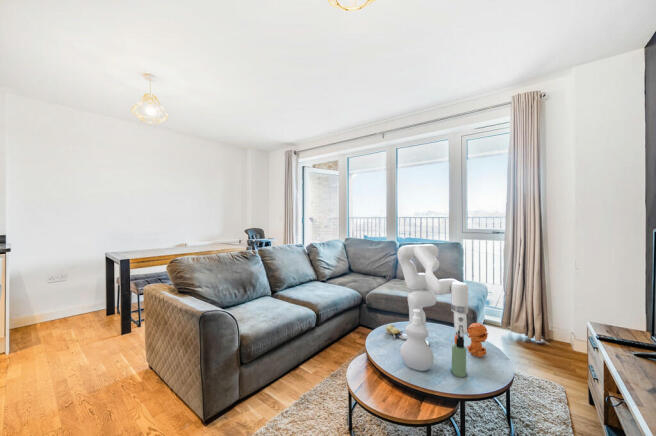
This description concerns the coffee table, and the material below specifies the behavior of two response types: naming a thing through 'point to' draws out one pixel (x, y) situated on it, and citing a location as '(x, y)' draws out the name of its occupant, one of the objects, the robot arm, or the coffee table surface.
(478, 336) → the orange sculpture
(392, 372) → the coffee table surface
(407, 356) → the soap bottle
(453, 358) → the bottle
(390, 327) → the figurine
